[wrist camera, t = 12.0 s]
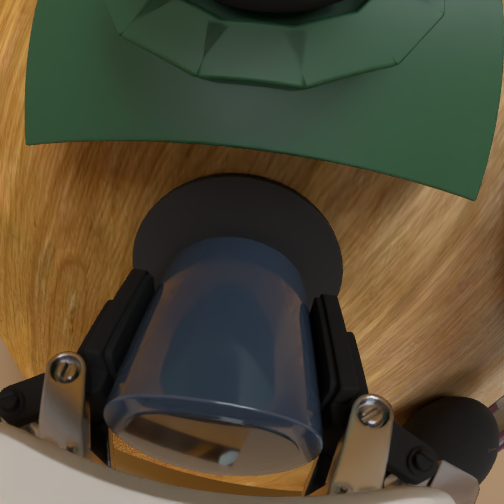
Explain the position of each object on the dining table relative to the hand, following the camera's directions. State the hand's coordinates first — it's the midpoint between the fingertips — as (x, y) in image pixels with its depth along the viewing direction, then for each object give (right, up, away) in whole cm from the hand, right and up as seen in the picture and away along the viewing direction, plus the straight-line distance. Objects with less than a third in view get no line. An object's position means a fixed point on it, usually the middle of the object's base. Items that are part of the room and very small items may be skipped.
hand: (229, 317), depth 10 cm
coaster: (0, +1, +2) cm, 3 cm away
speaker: (+16, -11, +9) cm, 22 cm away
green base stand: (+1, +11, -4) cm, 11 cm away
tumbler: (0, 0, +1) cm, 1 cm away
